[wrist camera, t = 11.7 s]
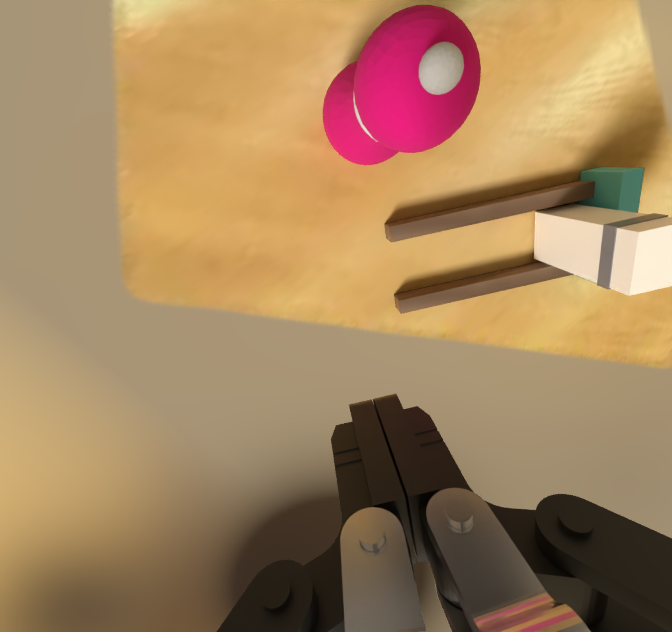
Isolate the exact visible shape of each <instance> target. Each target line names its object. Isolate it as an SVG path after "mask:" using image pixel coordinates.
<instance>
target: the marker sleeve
mask: <svg viewBox="0 0 672 632" xmlns="http://www.w3.org/2000/svg"><path fill="white" fill-rule="evenodd" d="M534 259H536V260H539V261H541V262H544V263H546V264H549V265H552V266H554V267H557V268H559V269H562V270H564V271H567V272H570V273H572V274H575V275H577V276H580V277H582V278H585V279H588V280H590V281H593V282H595V283H597V285H598V286H601V287H603V288H606V289H613V290H616V291H619V292H621V293H624V294H626V295H629V296H630V295H635V294H639V293H643V292H648V291H652V290H656V289H661V288H665V287H669V286H672V218H671V217H668V215H662V214H654V213H653V214H642V213H635V212H628V211H620V210H613V209H606V208H599V207H592V206H585V205H578V204H569V205H565V206H560V207H556V208H551V209H547V210H542V211H538V212H535V240H534Z"/></svg>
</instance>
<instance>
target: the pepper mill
mask: <svg viewBox="0 0 672 632" xmlns="http://www.w3.org/2000/svg"><path fill="white" fill-rule="evenodd" d="M480 73H481V66H480V57H479V52H478V49H477V45H476V42H475V40H474V38H473V36H472V34H471V32H470V31H469V29H468V28H467V27H466V25H465V24H464V23H463V21H462V20H461V19H459V18H458V17H457V16H456V15H455V14H454V13H452V12H450V11H448V10H446V9H444V8H441V7H436V6H431V5H416V6H412V7H409V8H405V9H403V10H401V11H399V12H397V13H395V14H393V15H392V16H390V17H389V18H388V19H386V20H385V21H383V22H382V23H381V24H380V26H379V27H378V28H377V29H376V30H375V31H374V32H373V34H372V35H371V36H370V37H369V39H368V41H367V43H366V44H365V46H364V48H363V50H362V51H361V54H360V56H359V59H358V61H356V62H354V63H352V64H350V65H348V66H347V67H346V68H345V69H343V70H342V71H341V72H340V73H339V74H338V75H337V76H336V77H335V79H334V80H333V81H332V83H331V85H330V87H329V88H328V90H327V93H326V96H325V99H324V105H323V123H324V128H325V132H326V135H327V137H328V139H329V141H330V143H331V145H332V146H333V147H334V149H335V150H336V151H337V152H338V153H339V154H340V155H341V156H342V157H344V158H345V159H347V160H349V161H351V162H353V163H356V164H360V165H373V164H378V163H381V162H383V161H386V160H387V159H389V158H391V157H393V156H394V155H395V154H397V153H398V152H404V153H416V152H422V151H425V150H428V149H431V148H433V147H435V146H437V145H440V144H441V143H442V142H444V141H445V140H447V139H448V138H450V137H451V136H452V135H453V134H454V133H455V132H456V131H457V130H458V129H459V128H460V127H461V125H462V124H463V123H464V121H465V120H466V118H467V117H468V115H469V113H470V112H471V109H472V107H473V105H474V103H475V100H476V97H477V94H478V90H479V85H480Z"/></svg>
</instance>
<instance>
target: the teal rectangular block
mask: <svg viewBox="0 0 672 632" xmlns="http://www.w3.org/2000/svg"><path fill="white" fill-rule="evenodd" d="M644 168H645V167H598V168H593V169H589V170H584V171H581V175H580V181H595V190H594V198H589V199H585V200H580V201H578V205H585V206H592V207H599V208H606V209H613V210H620V211H628V212H635V213H638V208H639V202H640V195H641V188H642V181H643V175H644ZM574 275H575V274H574ZM576 276H577V275H576ZM579 277H580V276H579ZM581 278H582V277H581ZM584 279H585V278H584ZM586 280H588V279H586ZM589 281H590V280H589ZM592 282H593V281H592ZM594 283H595V282H594Z"/></svg>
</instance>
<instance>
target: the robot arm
mask: <svg viewBox="0 0 672 632" xmlns="http://www.w3.org/2000/svg"><path fill="white" fill-rule="evenodd" d="M373 403H374V405H373ZM349 407H350V412H351V416H352V421H353V422H349V423H344V424H340V425H336V427H335V430H334V433H333V435H332V438H331V443H332V449H333V455H334V463H335V470H336V477H337V484H338V491H339V498H340V505H341V512H342V526H341V530H340V532H339V535H338V537H337V538H336V540H335V542H334V543H333V544H332V546H331V547H330V548H329V549H328V550H327V551H325V552H324V553H323V554H321V555H320V556H318V557H317V558H315V559H314V560H312V561H310V562H309V563H307V564H306V565H304V566H302V565H301V564H300V563H298V562H295V561H293V560H280V561H276V562H273V563H271V564H270V565H268V566H266V567H265V568H264V569H262V570H261V571H260V572H259V573H258V574H257V575H256V576H255V578H254V579H253V580H252V582H251V583H250V584H249V586H248V587H247V589H246V590H245V592H244V593H243V595H242V596H241V597H240V599H239V600H238V602H237V603H236V605H235V606H234V608H233V609H232V611H231V612H230V613H229V615H228V616H227V618H226V619H225V621H224V622H223V623H222V625H221V627H220V628H219V629H218V631H217V632H426V629H425V624H424V620H423V615H422V611H421V607H420V602H419V598H418V593H417V587H416V581H415V576H414V570H413V564H416V560H415V554H414V550H415V553H416V556H417V559H418V562H423V561H427V560H428V561H429V563H430V567H431V570H432V573H433V575H434V579H435V584H436V591H437V595H438V598H439V601H440V603H441V606H442V608H443V611H444V613H445V616H446V618H447V620H448V623H449V625H450V628H451V630H452V632H672V538H669V537H667V536H665V535H663V534H660V533H658V532H656V531H654V530H652V529H649V528H647V527H645V526H643V525H641V524H638V523H636V522H634V521H632V520H629V519H627V518H625V517H623V516H620V515H618V514H616V513H614V512H611V511H609V510H607V509H605V508H603V507H600V506H598V505H596V504H594V503H592V502H589V501H587V500H585V499H582V498H579V497H576V496H573V495H567V494H556V495H551V496H548V497H546V498H544V499H543V500H542V501H540V503H539V504H538V506H537V508H536V510H526V509H511V508H504V507H499V506H496V505H493V504H491V503H488V502H486V501H484V500H483V499H482V498H481V497H480V496H478V495H477V494H475V493H474V492H473V491H472V490H471V488H470V487H469V485H468V484H467V482H466V480H465V479H464V477H463V475H462V473H461V471H460V469H459V468H458V466H457V464H456V462H455V461H454V459H453V457H452V455H451V454H450V451H449V450H448V448H447V446H446V444H445V443H444V442H443V439H442V437H441V435H440V433H439V432H438V431H437V428H436V426H435V424H434V422H433V421H432V419H431V417H430V416H429V415H428V414H427V413H425V412H424V411H423V410H422V409H420V408H419V407H417V406H416V407H412V408H408V409H403V407H402V405H401V403H400V401H399V399H398V396H397V395H396V394H393V395H388V396H384V397H380V398H375V399H373V402H372V400H367V401H363V402H359V403H355V404H350V405H349ZM413 547H414V549H413Z"/></svg>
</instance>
